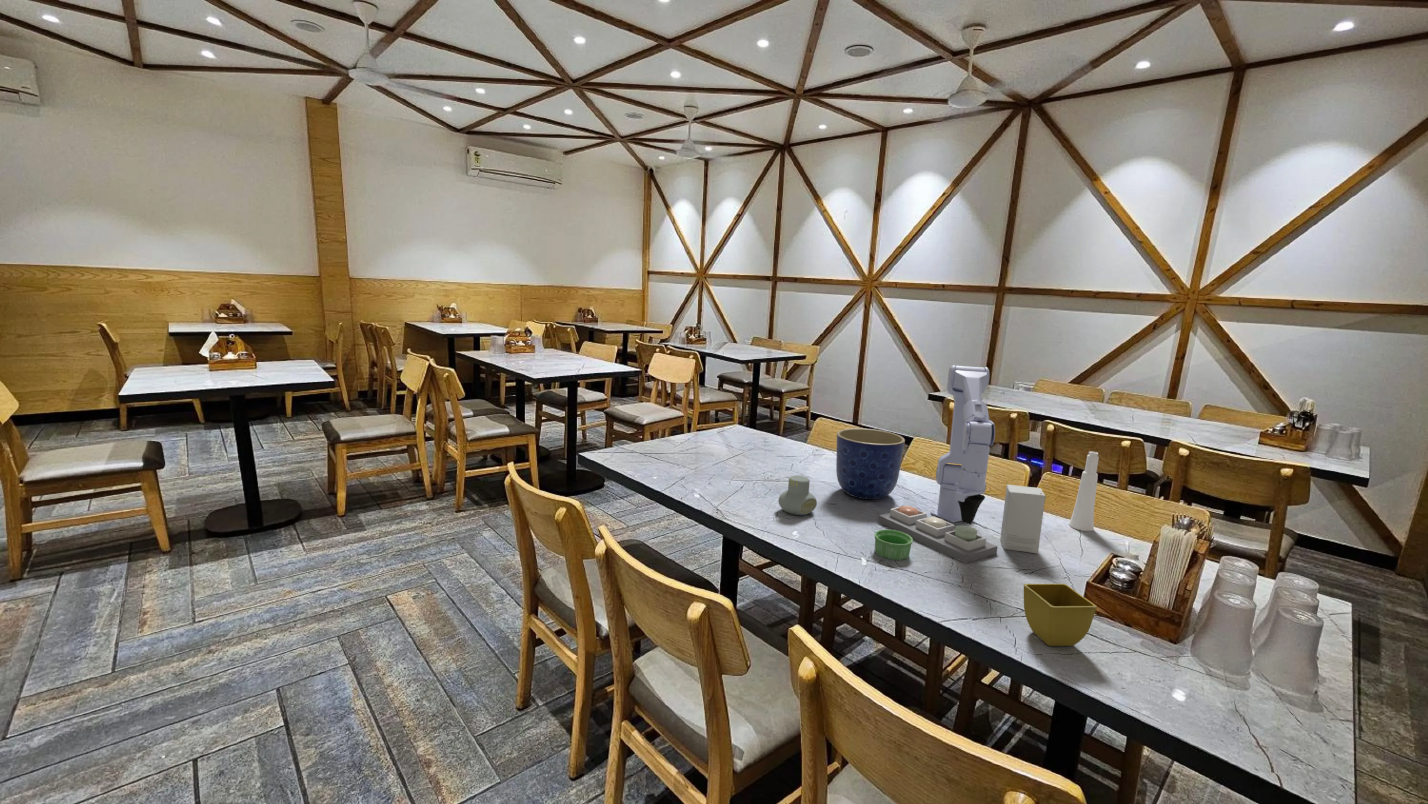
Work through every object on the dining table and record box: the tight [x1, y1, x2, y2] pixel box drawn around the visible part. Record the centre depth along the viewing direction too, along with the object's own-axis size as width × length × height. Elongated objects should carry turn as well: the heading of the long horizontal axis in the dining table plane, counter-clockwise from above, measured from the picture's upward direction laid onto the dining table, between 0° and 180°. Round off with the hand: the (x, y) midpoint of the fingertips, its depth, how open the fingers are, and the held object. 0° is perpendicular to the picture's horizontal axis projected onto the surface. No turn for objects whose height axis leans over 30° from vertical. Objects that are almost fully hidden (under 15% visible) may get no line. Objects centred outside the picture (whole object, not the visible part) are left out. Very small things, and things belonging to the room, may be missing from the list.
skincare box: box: [999, 484, 1047, 555], centre depth 149 cm, size 8×7×16 cm
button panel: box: [877, 505, 998, 564], centre depth 154 cm, size 12×28×4 cm, turn 31°
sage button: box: [955, 524, 978, 542], centre depth 146 cm, size 5×5×2 cm
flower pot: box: [1023, 583, 1098, 647], centre depth 109 cm, size 9×9×9 cm
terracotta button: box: [898, 505, 919, 516], centre depth 161 cm, size 5×5×2 cm
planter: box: [835, 427, 906, 500], centre depth 184 cm, size 21×21×19 cm
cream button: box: [925, 516, 947, 528], centre depth 154 cm, size 5×5×2 cm
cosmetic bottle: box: [1068, 451, 1100, 532], centre depth 164 cm, size 6×6×22 cm
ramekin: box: [874, 529, 914, 561], centre depth 143 cm, size 9×9×4 cm
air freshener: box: [777, 475, 818, 516], centre depth 168 cm, size 11×8×10 cm
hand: (967, 522), depth 145 cm, fingers closed
